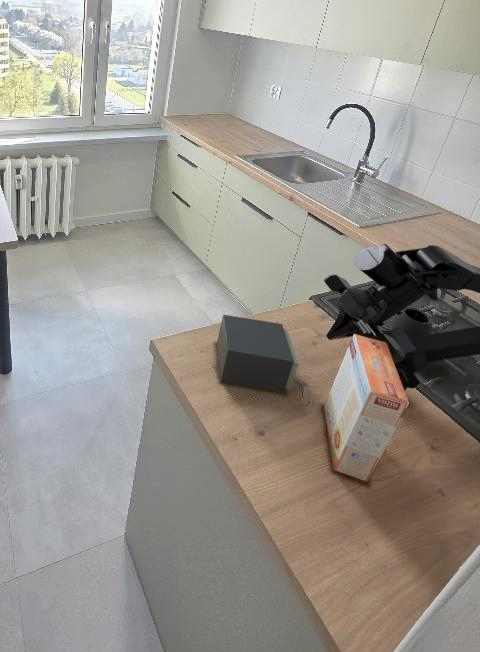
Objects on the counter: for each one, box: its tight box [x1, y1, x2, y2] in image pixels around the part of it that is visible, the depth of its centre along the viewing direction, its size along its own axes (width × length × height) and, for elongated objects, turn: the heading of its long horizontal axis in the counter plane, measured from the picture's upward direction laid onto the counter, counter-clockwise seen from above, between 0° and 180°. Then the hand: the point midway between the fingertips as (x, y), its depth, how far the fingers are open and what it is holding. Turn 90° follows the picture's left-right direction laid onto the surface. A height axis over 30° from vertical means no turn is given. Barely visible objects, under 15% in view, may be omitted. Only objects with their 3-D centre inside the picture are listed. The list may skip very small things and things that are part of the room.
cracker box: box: [323, 334, 410, 483], centre depth 77 cm, size 14×6×21 cm, turn 160°
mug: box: [389, 306, 434, 336], centre depth 102 cm, size 12×9×11 cm
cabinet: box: [216, 314, 294, 394], centre depth 95 cm, size 13×11×9 cm
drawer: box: [284, 328, 299, 390], centre depth 94 cm, size 14×10×8 cm
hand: (328, 338), depth 89 cm, fingers closed
